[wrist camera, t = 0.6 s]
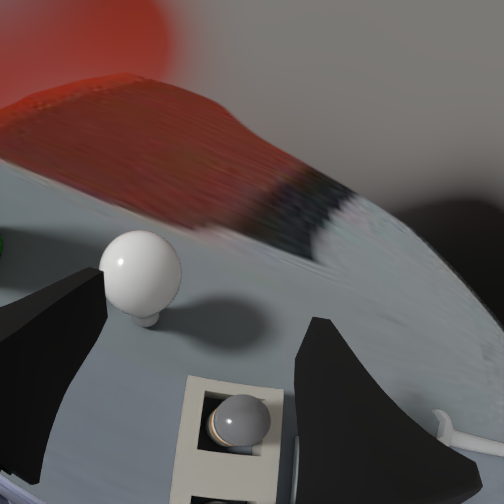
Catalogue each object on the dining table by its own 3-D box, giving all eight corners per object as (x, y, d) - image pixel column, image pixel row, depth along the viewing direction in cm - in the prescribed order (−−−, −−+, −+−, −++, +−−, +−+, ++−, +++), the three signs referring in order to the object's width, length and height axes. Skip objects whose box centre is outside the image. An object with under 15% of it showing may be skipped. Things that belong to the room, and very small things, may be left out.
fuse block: (258, 550, 15) (269, 559, 13) (165, 542, 14) (164, 553, 12) (273, 396, 25) (283, 389, 23) (186, 382, 24) (188, 375, 22)
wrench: (416, 407, 28) (406, 452, 24) (428, 403, 27) (418, 450, 23) (518, 439, 25) (513, 470, 22) (527, 435, 24) (523, 467, 20)
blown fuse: (245, 448, 22) (268, 448, 16) (202, 443, 21) (212, 442, 16) (248, 410, 24) (272, 397, 19) (207, 404, 24) (219, 390, 18)
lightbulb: (132, 279, 29) (122, 201, 21) (188, 303, 29) (198, 231, 21) (103, 330, 25) (74, 264, 17) (162, 358, 25) (159, 305, 17)
